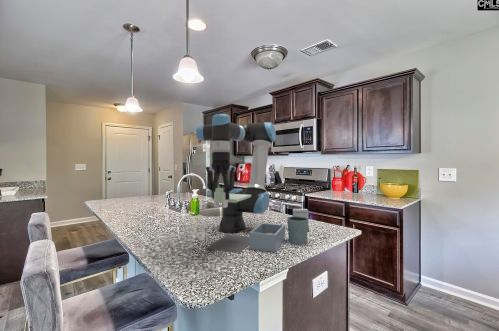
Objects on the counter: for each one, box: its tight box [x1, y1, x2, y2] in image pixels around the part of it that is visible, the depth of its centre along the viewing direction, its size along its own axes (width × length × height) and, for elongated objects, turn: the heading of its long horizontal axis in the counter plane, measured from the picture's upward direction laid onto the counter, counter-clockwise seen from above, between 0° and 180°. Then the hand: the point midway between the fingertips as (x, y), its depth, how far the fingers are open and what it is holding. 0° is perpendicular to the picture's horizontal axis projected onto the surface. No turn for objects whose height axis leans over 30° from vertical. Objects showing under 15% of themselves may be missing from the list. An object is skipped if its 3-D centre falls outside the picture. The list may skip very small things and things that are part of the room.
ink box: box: [292, 208, 310, 232], centre depth 143 cm, size 9×5×12 cm, turn 84°
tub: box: [248, 222, 286, 253], centre depth 116 cm, size 12×18×8 cm, turn 160°
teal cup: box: [286, 215, 309, 246], centre depth 120 cm, size 10×10×12 cm
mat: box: [206, 233, 249, 254], centre depth 118 cm, size 16×22×1 cm
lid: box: [211, 187, 251, 204], centre depth 115 cm, size 12×23×7 cm, turn 160°
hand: (220, 206), depth 105 cm, fingers closed on lid, 3 cm apart
